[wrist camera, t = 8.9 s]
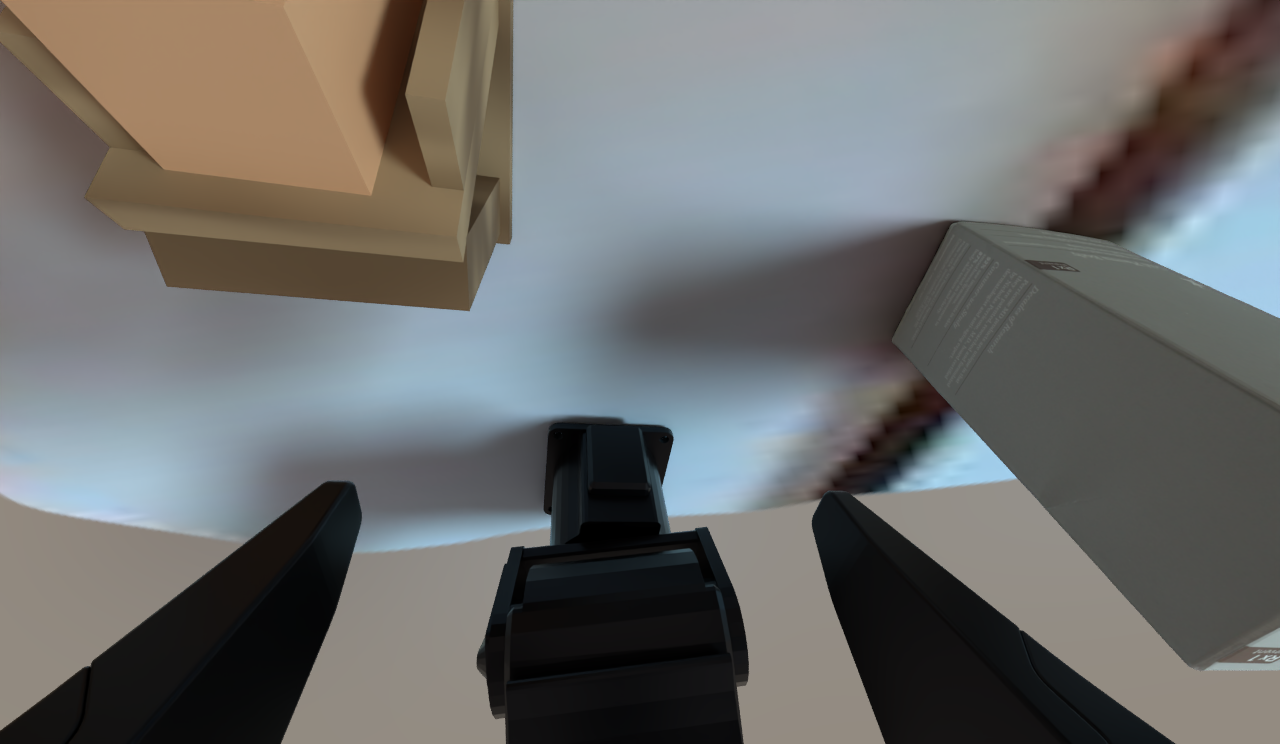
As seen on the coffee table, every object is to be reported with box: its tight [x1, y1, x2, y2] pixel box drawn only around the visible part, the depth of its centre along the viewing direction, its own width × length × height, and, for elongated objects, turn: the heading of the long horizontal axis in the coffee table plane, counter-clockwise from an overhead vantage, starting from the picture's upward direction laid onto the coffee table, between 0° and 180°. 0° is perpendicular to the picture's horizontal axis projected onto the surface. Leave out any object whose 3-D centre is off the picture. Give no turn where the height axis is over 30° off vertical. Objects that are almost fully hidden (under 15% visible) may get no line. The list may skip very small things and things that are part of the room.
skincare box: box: [892, 221, 1280, 671], centre depth 17 cm, size 8×7×16 cm
